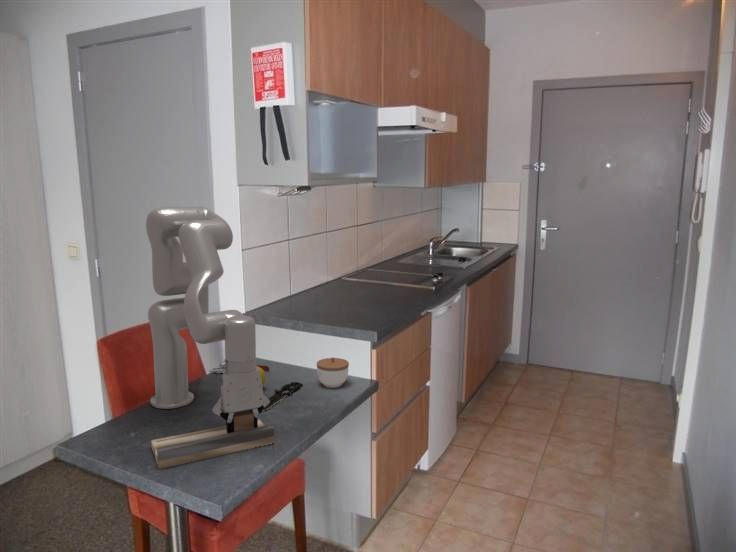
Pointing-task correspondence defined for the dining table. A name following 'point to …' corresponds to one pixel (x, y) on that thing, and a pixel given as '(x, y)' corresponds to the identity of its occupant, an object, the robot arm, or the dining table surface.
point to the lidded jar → (332, 371)
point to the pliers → (224, 369)
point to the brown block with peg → (243, 420)
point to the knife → (283, 393)
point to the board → (204, 454)
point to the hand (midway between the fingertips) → (242, 432)
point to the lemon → (262, 375)
